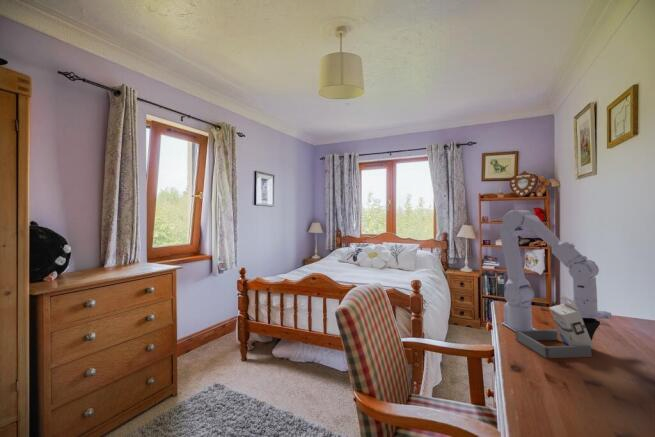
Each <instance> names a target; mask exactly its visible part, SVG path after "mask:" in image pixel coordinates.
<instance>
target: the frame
mask: <svg viewBox="0 0 655 437" xmlns="http://www.w3.org/2000/svg"><path fill="white" fill-rule="evenodd" d="M558 333H559V332H558V329H537V330H525V331H516V332H515V340H516V341H518V342H519V343H520V344H522V345H524V346H526V347H527V348H529V349H530V350H532V351H533V352H535V353H537V354H539V355H540V356H542V357H543V358H545V359H562V358H566V359H567V358H568V359H570V358H589V357H590V358H592V355H593V354H592V348H591V346H589V345H577V346H569V345H552V346H551V345H550V346H547V345H545V344H543V343H541V342H539V341H550V340H551V341H553V340H554V341H555V340H557V341H558V340H559V339H558V338H559V337H558Z"/></svg>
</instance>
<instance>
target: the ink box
mask: <svg viewBox="0 0 655 437" xmlns="http://www.w3.org/2000/svg"><path fill="white" fill-rule="evenodd" d="M559 296H560V299H561V301H562V303H561V304H557V305H552V306H549V307H548V308H549V311H550V314H551V316H552V318H553V320H554V323H555V325H556V328H557V329H556V330H557V332H558V333H559V336H560V338H561V340H562V342H563V343H565V344H566V345H567V346H577V345H589V346H591V349H593V348H594V347H595V346H594V344H593V342H592V341H591V339H590V337H589V334H588V332H587V329H586V327H585V324H584V322H583V319H582V317H581V314H580V312H579V310H578V308H577V305H576V303H575V301H574V299H571V298H569V297H566V296H564V295H561V294H560V295H559Z"/></svg>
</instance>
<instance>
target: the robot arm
mask: <svg viewBox="0 0 655 437" xmlns="http://www.w3.org/2000/svg"><path fill="white" fill-rule="evenodd" d="M501 221H502V224H501V226H500V230H499V236H500V242H501V247H502V253H503V258H504V263H505V264H504V265H505V268H506V273H507V281H506V282H505V285H504V287H505V290H504V294H503V296H504V299H505V301H506V303H504V306H503V322H501V324H502V325H504V326H505V327H507V328H509V329H510V330H512V331H514V332H515V333H516V331H525V330H538V329H537V328H534V327H533V321H532V320H533V319H532V318H533V317H532V315H533V314H532V301H533V300H534V298H535V291H534V290H533V289H532V286H531V282H530V281H529V280H528V279H527V278H526V276H525V271H524V266H523V262H522V261H523V260H522V256H521V251H520V246H519V240H518V236H519V235H520V233H521V232H522V231H524V230H527V231H531V232H533V233H534V234H536V235H537V236H538V237H539V238H540V239H541V240H543V241H544V242H545V243H546V244H547V245H548V247H549V246H550V248H551V254H552V255H554V256H555V258H557V259H558V261H559V262H561V263H562V264H563V265H564V266H565V267H566V268H567V269H568V273H569V276H571V278H572V293H573V295H572V296H573V297H572V298H573V301H575V303H576V305H577V308H578V310H579V312H580V314H581V317H582V319H583V322H584V324H585V327H586V329H587V332H588V334H589V337H590V339H591V342H592V341H593V338H594V335H595V332H596V330H597V329H598V328H599V326H600V325H601V321H600V320H599V319H607V320H612V313H611V312H610V311H606V310H598V290H597V286H598V285H597V278H596V277H597V276H598V274H599V272H600V270H599V269H600V268H599V267H598V265H597V264H596V262H595V261H593V260H592V259H588V257H587V256H586V255H583V254H581V253H580V252H579V251H578V250H577V249H576V248H575V247H576V246H575V244H573V243H569V242H568V241H562V240H560V239H559V237H558V236H557V235H556V234H555V233H553V232H552V231H551V230H550V229H549V227H548V226H547V225H545V223H544V222H543V221H542V220H541V219H540V217H539V216H538V215H535V214H534V212H532V211H531V210H528V209H523V210H518V209H517V210H516V209H512V210H509V211H507V212H506V213H505V214H504V215H503V216H502V220H501Z"/></svg>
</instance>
